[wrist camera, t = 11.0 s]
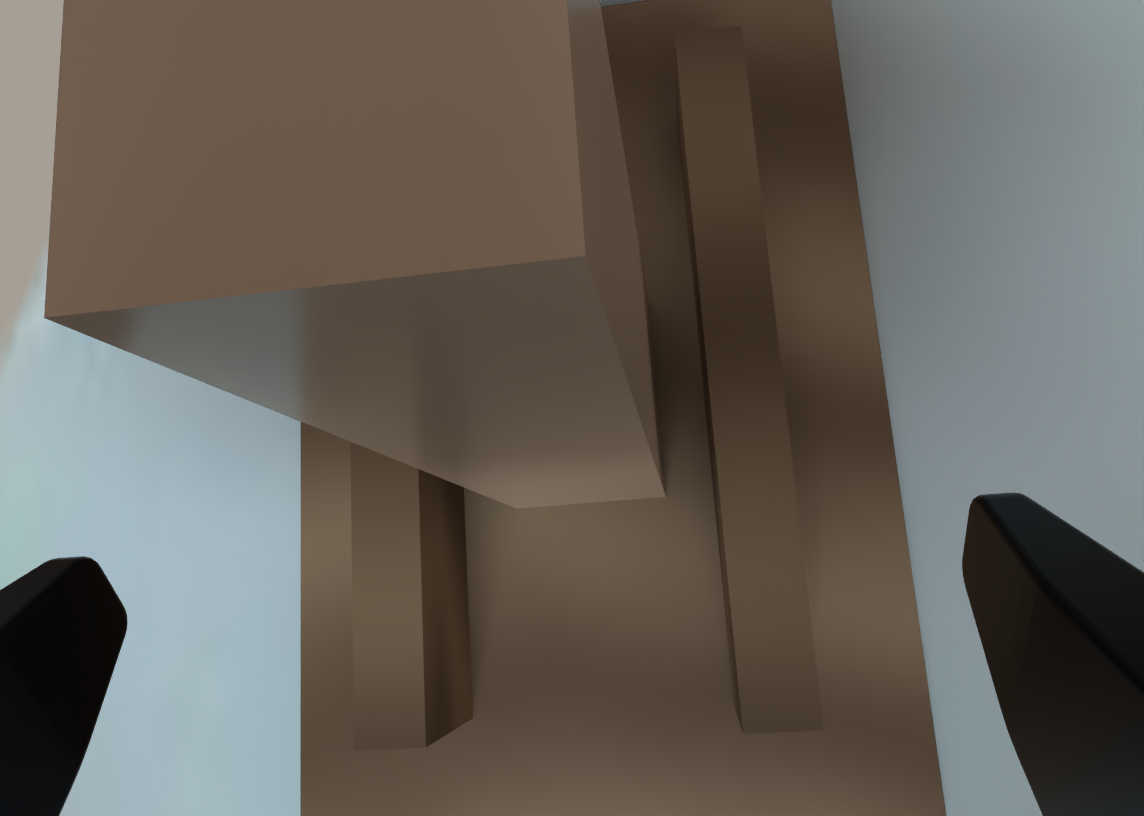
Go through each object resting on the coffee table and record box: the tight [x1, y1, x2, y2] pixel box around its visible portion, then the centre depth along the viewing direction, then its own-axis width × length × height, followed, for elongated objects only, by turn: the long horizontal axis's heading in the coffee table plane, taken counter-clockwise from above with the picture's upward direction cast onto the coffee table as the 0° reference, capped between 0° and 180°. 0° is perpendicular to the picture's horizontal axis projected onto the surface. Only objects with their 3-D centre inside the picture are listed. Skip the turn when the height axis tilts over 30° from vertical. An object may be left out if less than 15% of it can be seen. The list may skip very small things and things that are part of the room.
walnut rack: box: [301, 0, 946, 816], centre depth 17 cm, size 18×12×4 cm, turn 4°
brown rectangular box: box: [44, 0, 666, 509], centre depth 11 cm, size 3×4×13 cm
